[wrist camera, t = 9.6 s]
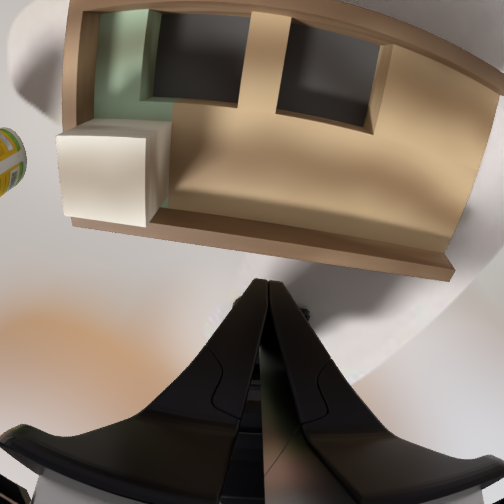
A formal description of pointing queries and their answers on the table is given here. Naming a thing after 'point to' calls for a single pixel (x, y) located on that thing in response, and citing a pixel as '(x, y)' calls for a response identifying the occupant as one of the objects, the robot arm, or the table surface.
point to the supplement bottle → (11, 160)
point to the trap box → (291, 124)
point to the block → (115, 169)
